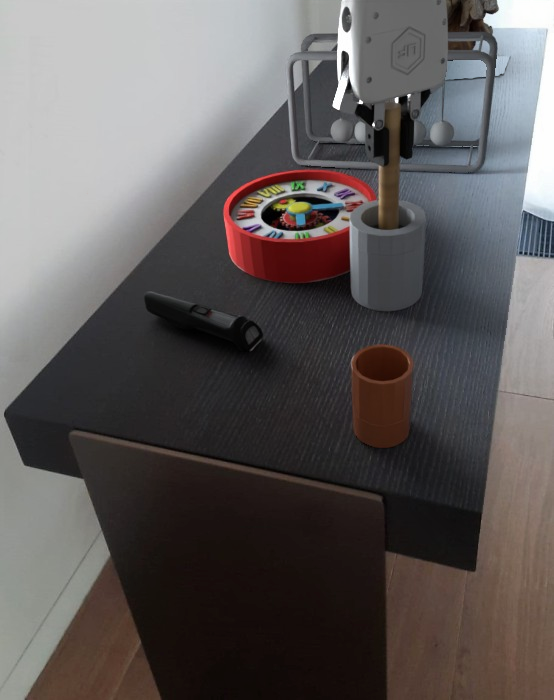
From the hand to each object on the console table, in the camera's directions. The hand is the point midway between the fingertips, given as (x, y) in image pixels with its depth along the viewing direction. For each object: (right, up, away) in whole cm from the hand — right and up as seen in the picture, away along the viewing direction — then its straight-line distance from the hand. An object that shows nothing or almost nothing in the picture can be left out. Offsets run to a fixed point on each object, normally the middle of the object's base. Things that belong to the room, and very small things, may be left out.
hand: (389, 157), depth 74 cm
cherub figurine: (+27, +38, +72) cm, 85 cm away
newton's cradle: (+6, +11, +40) cm, 42 cm away
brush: (+1, -11, +8) cm, 14 cm away
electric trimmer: (-20, -18, +8) cm, 28 cm away
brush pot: (-2, -28, -7) cm, 29 cm away
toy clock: (-8, -6, +22) cm, 24 cm away
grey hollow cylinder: (+1, -13, +11) cm, 17 cm away
